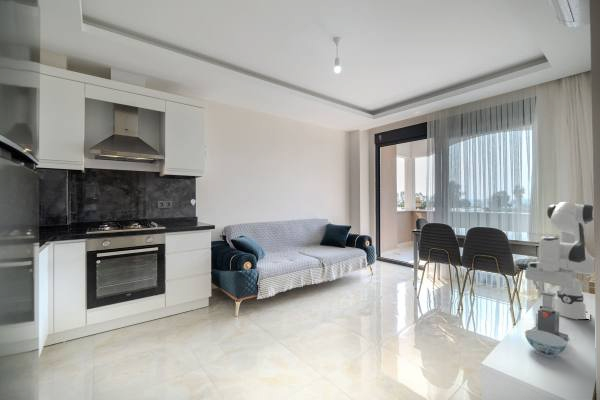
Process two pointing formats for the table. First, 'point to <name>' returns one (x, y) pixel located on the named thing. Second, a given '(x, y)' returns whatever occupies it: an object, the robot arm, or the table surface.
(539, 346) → the chinaware
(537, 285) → the robot arm
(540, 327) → the stand base
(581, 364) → the table surface
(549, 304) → the column
